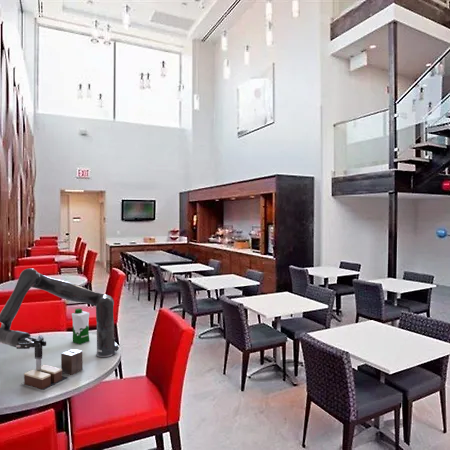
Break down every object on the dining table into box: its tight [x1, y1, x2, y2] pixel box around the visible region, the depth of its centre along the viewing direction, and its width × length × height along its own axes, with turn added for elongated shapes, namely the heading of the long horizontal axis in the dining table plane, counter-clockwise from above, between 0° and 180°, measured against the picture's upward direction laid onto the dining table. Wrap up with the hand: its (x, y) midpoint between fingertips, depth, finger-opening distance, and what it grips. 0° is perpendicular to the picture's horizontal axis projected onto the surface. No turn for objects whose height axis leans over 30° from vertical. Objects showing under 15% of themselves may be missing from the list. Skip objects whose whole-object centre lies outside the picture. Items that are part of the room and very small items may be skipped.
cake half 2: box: [41, 364, 63, 383], centre depth 177 cm, size 12×4×5 cm, turn 65°
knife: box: [34, 339, 43, 372], centre depth 175 cm, size 3×2×19 cm
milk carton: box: [71, 308, 90, 345], centre depth 230 cm, size 9×9×20 cm
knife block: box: [60, 348, 84, 376], centre depth 186 cm, size 7×7×10 cm
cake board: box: [21, 375, 69, 391], centre depth 176 cm, size 15×14×1 cm
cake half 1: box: [23, 369, 51, 390], centre depth 172 cm, size 12×4×5 cm, turn 65°
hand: (42, 344), depth 174 cm, fingers closed on knife, 2 cm apart
